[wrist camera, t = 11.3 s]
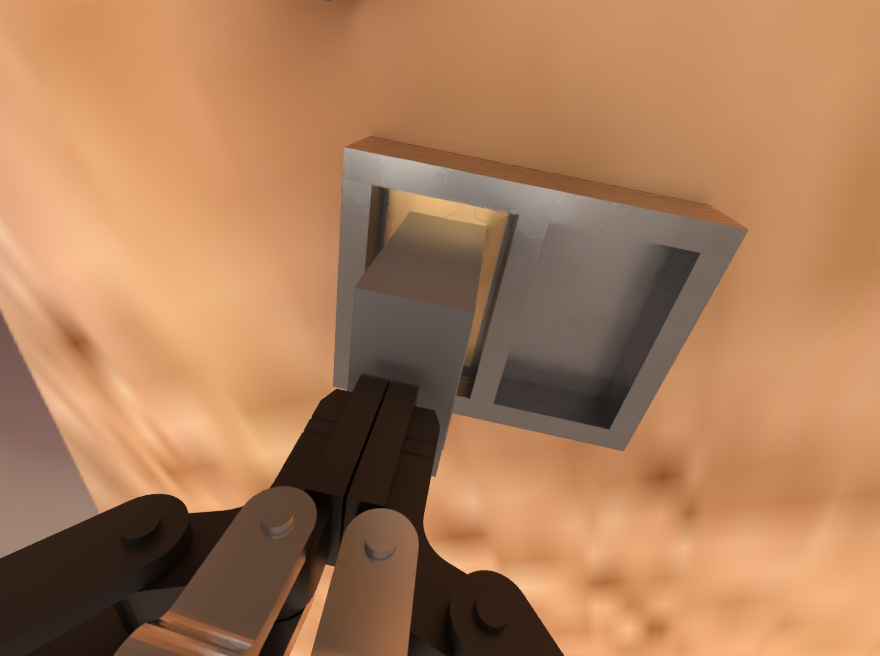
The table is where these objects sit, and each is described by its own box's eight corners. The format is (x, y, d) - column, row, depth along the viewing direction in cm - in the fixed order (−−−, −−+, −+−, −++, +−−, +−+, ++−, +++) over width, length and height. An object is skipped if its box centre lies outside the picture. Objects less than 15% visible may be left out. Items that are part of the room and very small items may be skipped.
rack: (709, 205, 16) (748, 229, 13) (608, 408, 21) (621, 454, 19) (369, 136, 16) (344, 146, 14) (353, 352, 22) (332, 389, 19)
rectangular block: (488, 227, 16) (476, 313, 10) (458, 354, 19) (437, 476, 13) (408, 210, 16) (352, 286, 10) (392, 339, 19) (341, 455, 13)
